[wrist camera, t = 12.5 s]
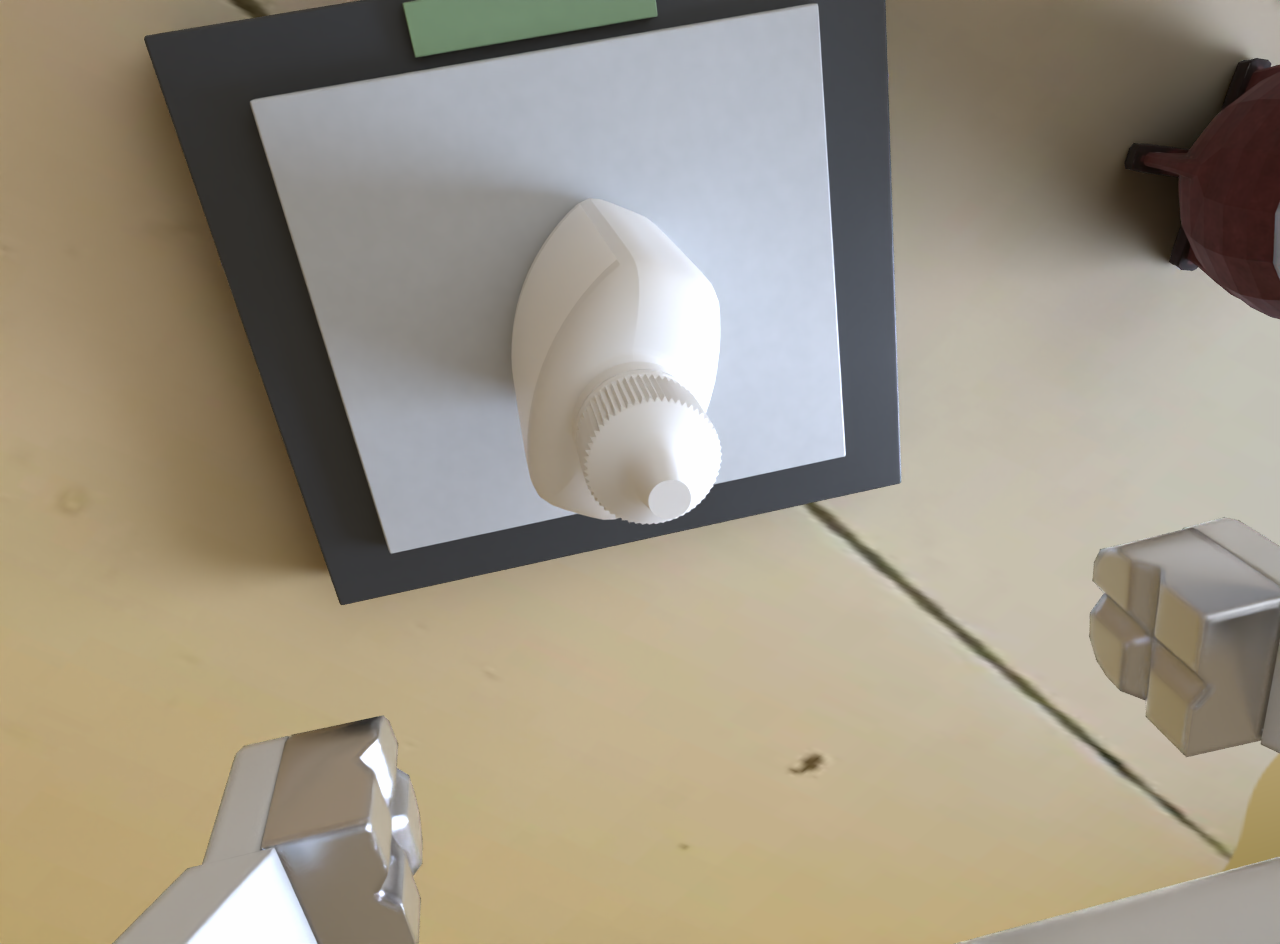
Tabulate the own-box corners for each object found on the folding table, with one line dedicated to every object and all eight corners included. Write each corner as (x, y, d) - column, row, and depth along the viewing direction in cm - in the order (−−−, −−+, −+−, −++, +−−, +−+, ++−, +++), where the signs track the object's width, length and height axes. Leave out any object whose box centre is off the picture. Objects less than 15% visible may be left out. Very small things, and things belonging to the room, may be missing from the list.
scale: (165, 35, 24) (133, 36, 22) (854, -79, 26) (894, -89, 23) (346, 573, 31) (337, 617, 29) (878, 459, 33) (910, 491, 30)
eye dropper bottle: (448, 310, 25) (441, 519, 15) (611, 169, 25) (729, 280, 14) (555, 424, 27) (619, 683, 17) (710, 296, 26) (882, 481, 16)
